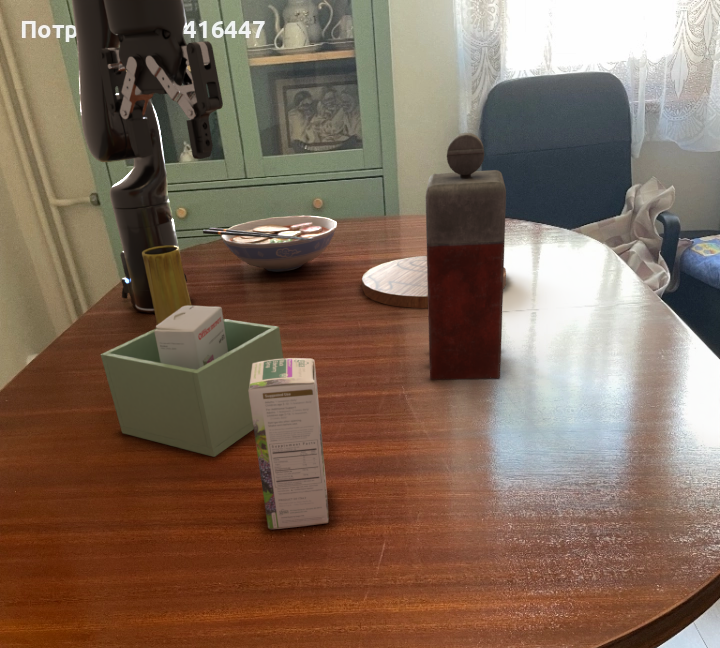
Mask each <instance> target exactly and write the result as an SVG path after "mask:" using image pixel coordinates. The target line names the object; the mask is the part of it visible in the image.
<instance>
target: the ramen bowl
mask: <svg viewBox="0 0 720 648" xmlns="http://www.w3.org/2000/svg"><path fill="white" fill-rule="evenodd" d="M337 224H338V223H337V221H336V220H333V219H331V218H329V217H323V216H315V215H289V216H276V217H274V216H273V217H268V218H262V219H256V220H250V221H247V222H243V223H239V224H235V225H233V226H230V227H229V228H220V227H219V228H218V227H208V229H203V230H202V233H203V235H216V236H217V235H218V236H219V235H220V239H221V240H222V241H223V243H224V245H225V246H226V247H227V248H228V249H229V250H230V252H231V253H233V255H235V256H236V257H237V258H238V259H240V260H241V261H242V262H244V263H245V264H247V265H250V266H253V267H257V268H261V269H265V270H266V271H269V272H280V273H281V272H288V271H294V270H296V269H299V268H301V267H302V266H303V265H305V264H307V263H309V262H310V261H312V260H314V259H316V258H317V257H319V256H321V254H322V253H324V251H326V249H327V248H328V246H329V245H330V243H331V241H332V239H333V237H334V235H335V233H336V229H337Z"/></svg>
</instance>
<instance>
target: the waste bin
mask: <svg viewBox="0 0 720 648" xmlns="http://www.w3.org/2000/svg"><path fill="white" fill-rule="evenodd" d="M223 321H224V328H225V334H226V341H227V348H228V353H226V354H224V355H222V356H220V357H219V358H217V359H215V360H213V361H211V362H210V363H208V364H206V365H204V366H203V367H201V368H199V369H197V370H195V369H190V368H185V367H179V366H174V365H169V364H164V363H161V361H160V357H159V352H158V347H157V342H156V337H155V333H154V331H155V330H156V329H157V328H156V327H155V328H154V329H151V330H150V331H147V332H145V333H143V334H141V335H139V336H136V337H134V338H133V339H130V340H128V341H125V342H124V343H121V344H120V345H118V346H116V347H115V346H114V347H113V348H110V349H109V350H107V351H105V352H103V353H101V354H100V357H101V361H102V365H103V369H104V372H105V375H106V379H107V380H106V381H107V383H108V387H109V391H110V394H111V398H112V401H113V405H114V409H115V412H116V415H117V419H118V423H119V427H120V430H121V433H122V434H124V435H128V436H132V437H136V438H140V439H143V440H148V441H151V442H155V443H159V444H163V445H168V446H169V447H170V446H171V447H174V448H178V449H182V450H186V451H190V452H194V453H198V454H200V455H201V454H202V455H204V456H205V455H206V456H208V457H213V458H215V457H217V456H218V455H220V454H221V453H222V452H224V451H225V450H227V448H229V447H231V446H232V445H234V444H236V442H238V441H239V440H241V439H242V438H244V437H245V436H246V435H248V434H249V433H251V432H252V431H254V427H253V420H252V412H251V406H250V399H249V392H248V390H249V385H250V377H251V370H252V364H253V363H257V362H261V361H267V360H274V359H284V352H283V346H282V339H281V331H280V326H275V325H269V324H262V323H256V322H255V323H254V322H247V321H241V320H233V319H227V318H223Z"/></svg>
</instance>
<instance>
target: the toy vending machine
mask: <svg viewBox="0 0 720 648" xmlns="http://www.w3.org/2000/svg"><path fill="white" fill-rule="evenodd" d="M484 159H485V148H484V144H483V142H482V140H481V139H480V137H479V136H478V135H476V134H474V133H473V132H462V133H458V134H457V135H455V136H453V138H452V139H451V140H450V142H449V144H448V146H447V151H446V162H447V164H448V166H449V168H450V170H452V172H440V173H439V172H438V173H433V174H430V176H429V178H428V181H427V186H426V190H425V230H426V231H425V232H426V233H425V235H426V255H427V280H428V308H427V315H428V316H427V317H428V318H427V319H428V354H429V355H428V361H429V380H433V381H437V380H439V381H440V380H487V379H491V380H492V379H501V367H502V366H501V365H502V334H503V305H504V304H503V301H504V299H503V298H504V288H503V275H504V268H505V241H506V240H505V239H506V209H507V208H506V207H507V189H506V185H505V181H504V177H503V174H502V172H501V171H499V170H498V169H493V170H491V169H490V170H479V169H480V168H481V167H482V165H483V162H484Z"/></svg>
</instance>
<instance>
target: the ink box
mask: <svg viewBox="0 0 720 648" xmlns="http://www.w3.org/2000/svg"><path fill="white" fill-rule="evenodd" d="M223 319H224V315H223V309H222V307H221V306H205V305H192V306H183V307H181V308H180V309H179V310H177V311H176V312H175V313H173V314H172V315H170V316H169V317H168V318H166V319H165V320H164V321H162V322H161V323H159V324H158V325H157V324H156V325H155V329H156V328H157V329H156V330H155V331H154V333H155V337H156V342H157V347H158V352H159V357H160V361H161V363H164V364H169V365H174V366H179V367H185V368H190V369H195V370H197V369H199V368H201V367H203V366H204V365H206V364H208V363H210V362H211V361H213V360H215V359H217V358H219V357H220V356H222V355H224V354H226V353H228V348H227V341H226V334H225V328H224V321H223Z"/></svg>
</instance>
